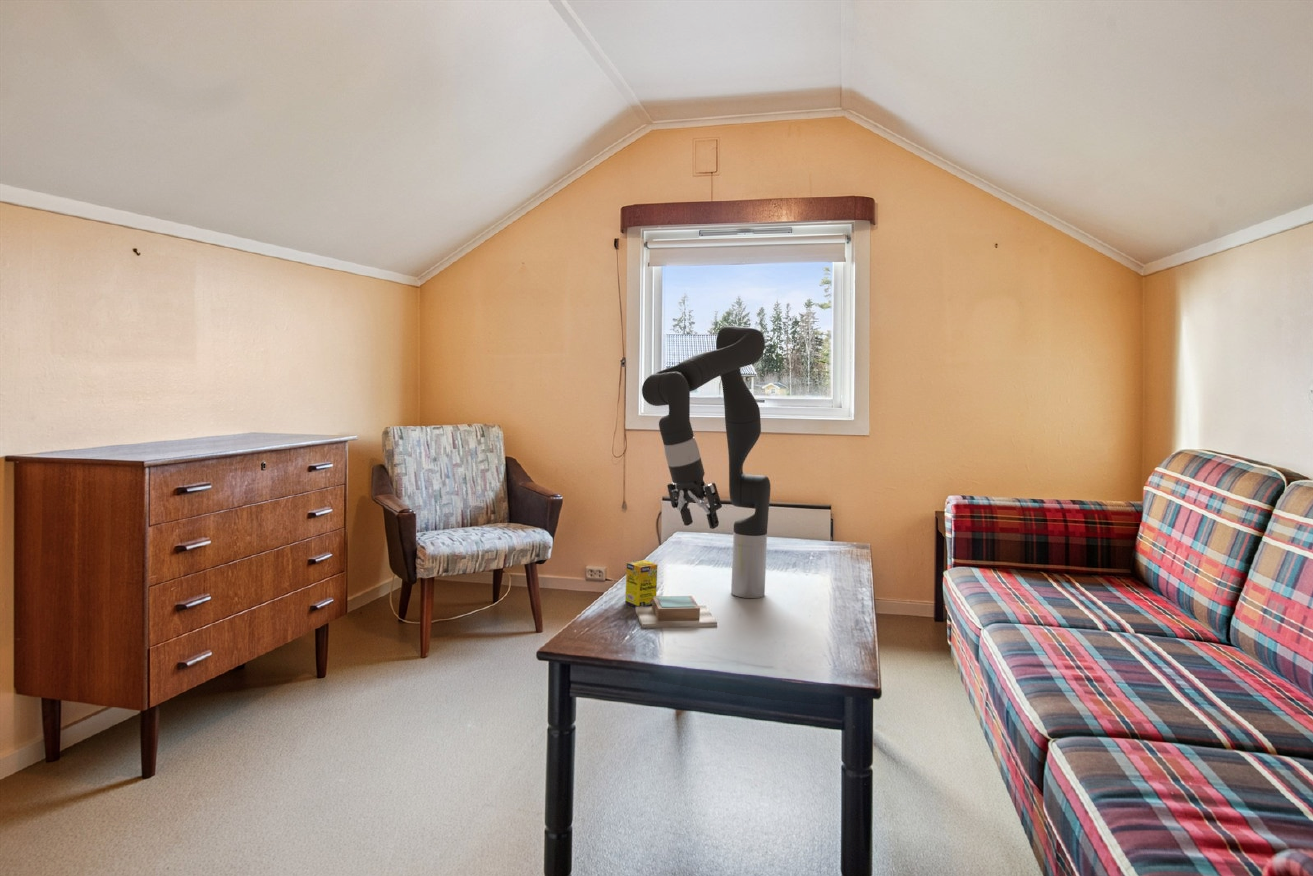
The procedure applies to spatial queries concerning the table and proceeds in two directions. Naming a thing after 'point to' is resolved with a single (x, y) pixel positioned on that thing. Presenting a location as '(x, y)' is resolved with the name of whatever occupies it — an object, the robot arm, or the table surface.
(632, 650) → the table surface
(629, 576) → the supplement box
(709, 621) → the board
